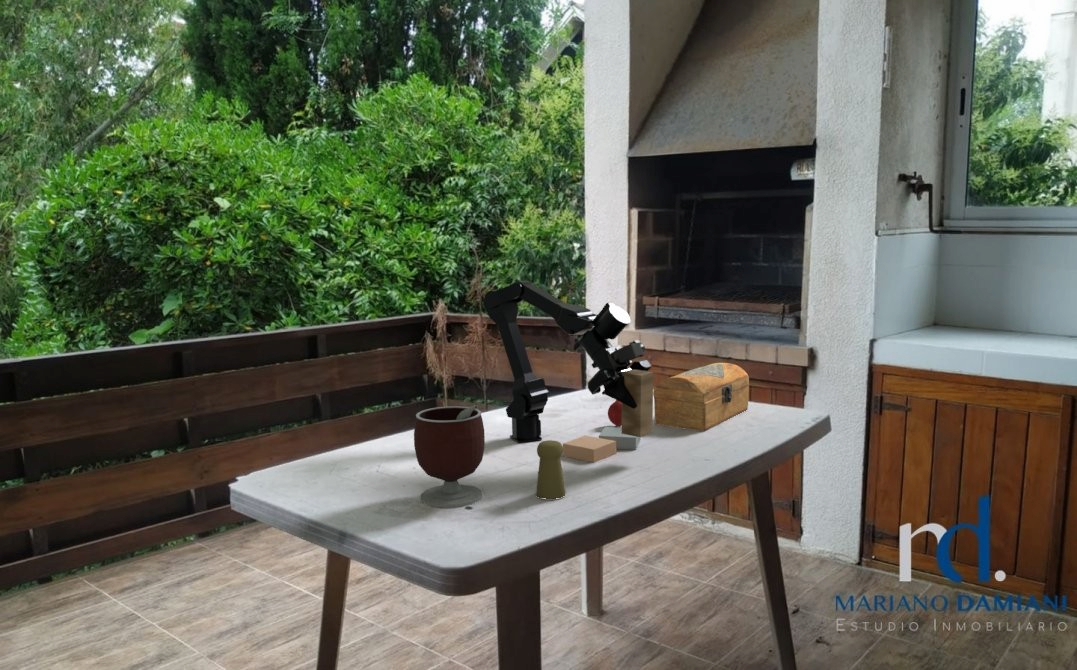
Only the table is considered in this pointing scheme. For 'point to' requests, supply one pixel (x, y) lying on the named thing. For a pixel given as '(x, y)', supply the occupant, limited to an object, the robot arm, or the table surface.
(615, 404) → the onion
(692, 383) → the wooden box
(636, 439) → the stone slab
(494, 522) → the table surface
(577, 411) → the table surface
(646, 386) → the walnut pillar
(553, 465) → the olive green game pawn
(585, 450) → the terracotta slab
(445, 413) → the mate gourd
